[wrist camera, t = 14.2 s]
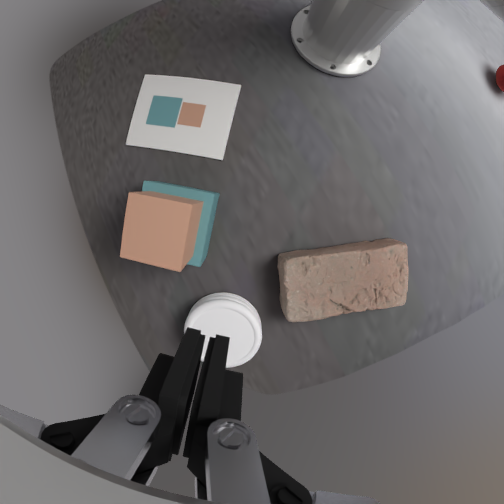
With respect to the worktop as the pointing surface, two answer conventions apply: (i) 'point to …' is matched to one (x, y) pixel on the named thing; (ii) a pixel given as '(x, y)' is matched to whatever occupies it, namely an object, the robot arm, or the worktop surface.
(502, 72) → the onion
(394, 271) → the brick
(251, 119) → the worktop surface
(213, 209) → the base block
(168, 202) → the clay block
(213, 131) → the page
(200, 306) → the coaster
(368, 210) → the worktop surface
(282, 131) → the worktop surface
